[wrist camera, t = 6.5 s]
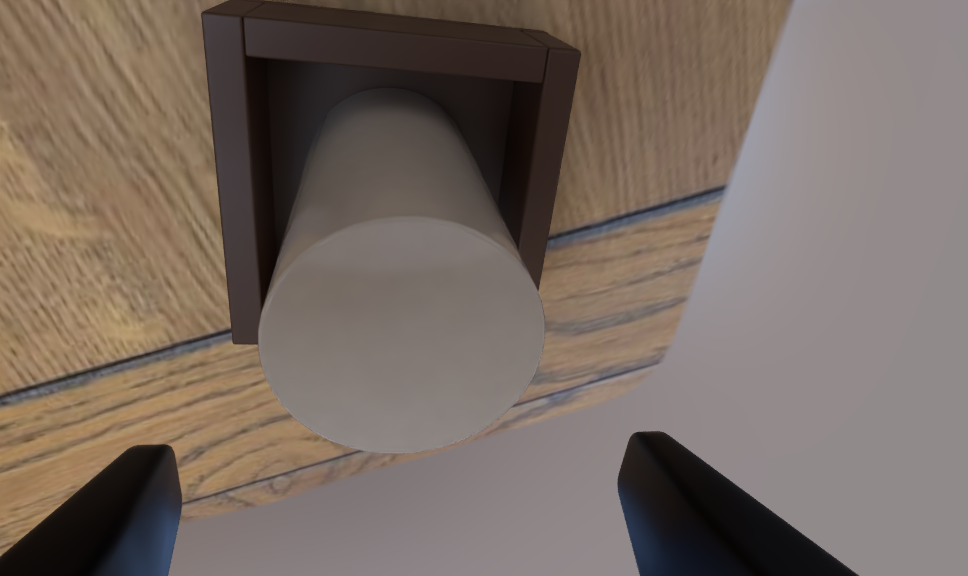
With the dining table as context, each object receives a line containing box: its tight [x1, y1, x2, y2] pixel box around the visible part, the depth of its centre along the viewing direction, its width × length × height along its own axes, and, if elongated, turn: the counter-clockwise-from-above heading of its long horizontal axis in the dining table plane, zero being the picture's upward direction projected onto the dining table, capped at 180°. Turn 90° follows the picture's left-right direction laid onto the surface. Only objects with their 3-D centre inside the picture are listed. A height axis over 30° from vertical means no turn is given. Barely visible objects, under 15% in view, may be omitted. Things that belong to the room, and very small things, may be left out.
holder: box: [201, 0, 581, 344], centre depth 17 cm, size 8×8×4 cm
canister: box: [258, 88, 545, 454], centre depth 14 cm, size 5×5×9 cm
